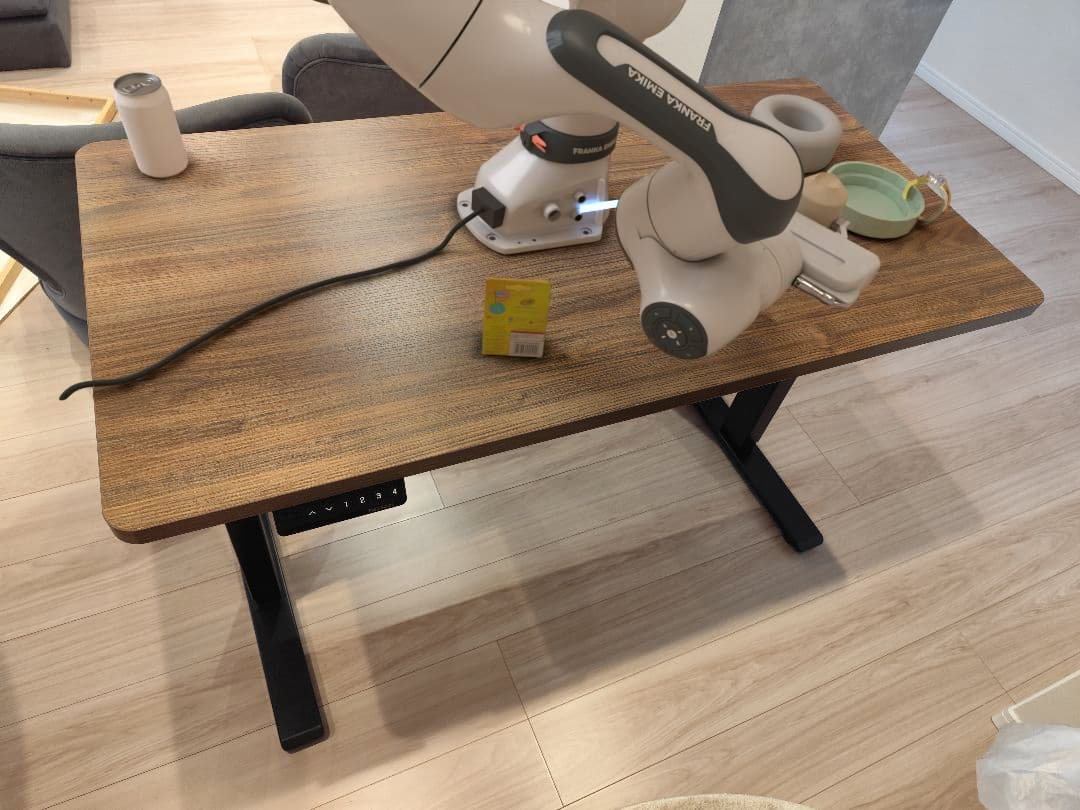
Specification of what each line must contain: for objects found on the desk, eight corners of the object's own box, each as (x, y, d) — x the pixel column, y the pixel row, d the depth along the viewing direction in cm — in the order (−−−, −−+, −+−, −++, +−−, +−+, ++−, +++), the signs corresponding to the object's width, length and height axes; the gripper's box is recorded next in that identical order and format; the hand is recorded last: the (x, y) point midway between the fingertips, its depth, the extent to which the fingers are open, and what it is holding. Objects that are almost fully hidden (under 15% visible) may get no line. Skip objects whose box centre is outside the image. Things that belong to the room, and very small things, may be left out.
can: (199, 165, 103) (176, 83, 94) (161, 185, 100) (133, 101, 90) (167, 147, 105) (141, 65, 96) (128, 166, 101) (97, 83, 92)
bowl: (866, 252, 108) (878, 230, 105) (795, 195, 116) (805, 173, 113) (931, 227, 114) (945, 206, 111) (860, 174, 122) (871, 153, 119)
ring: (889, 208, 116) (915, 164, 110) (903, 204, 117) (929, 160, 111) (922, 234, 112) (951, 190, 106) (936, 230, 114) (965, 186, 108)
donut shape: (786, 119, 131) (800, 84, 126) (847, 165, 123) (865, 128, 118) (723, 136, 125) (736, 99, 120) (784, 185, 117) (800, 147, 112)
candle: (818, 270, 86) (856, 198, 78) (772, 260, 86) (805, 187, 79) (816, 242, 90) (852, 171, 82) (771, 232, 90) (803, 160, 82)
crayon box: (541, 340, 89) (554, 267, 80) (542, 358, 87) (555, 285, 78) (481, 336, 89) (486, 262, 80) (480, 354, 87) (485, 280, 78)
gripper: (858, 289, 71) (913, 231, 78) (685, 191, 78) (751, 146, 85) (831, 335, 76) (885, 276, 83) (671, 239, 83) (734, 192, 90)
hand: (816, 210), depth 84 cm, fingers closed on candle, 5 cm apart
